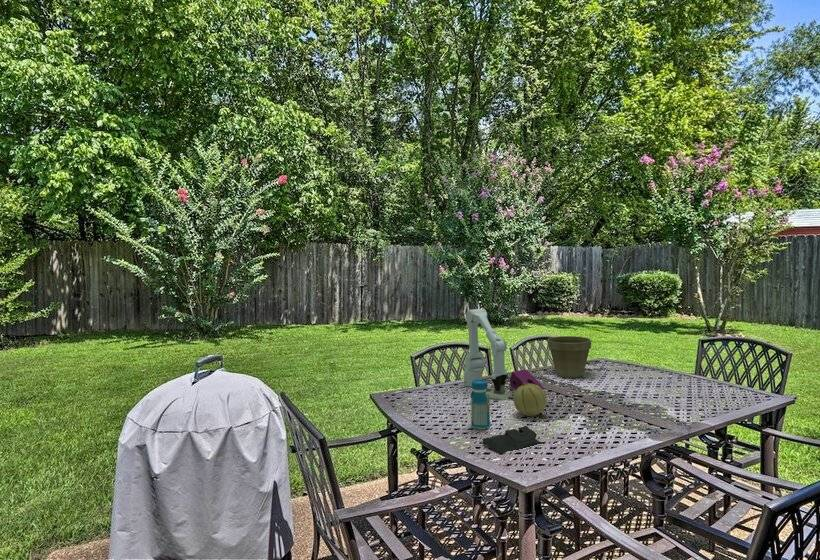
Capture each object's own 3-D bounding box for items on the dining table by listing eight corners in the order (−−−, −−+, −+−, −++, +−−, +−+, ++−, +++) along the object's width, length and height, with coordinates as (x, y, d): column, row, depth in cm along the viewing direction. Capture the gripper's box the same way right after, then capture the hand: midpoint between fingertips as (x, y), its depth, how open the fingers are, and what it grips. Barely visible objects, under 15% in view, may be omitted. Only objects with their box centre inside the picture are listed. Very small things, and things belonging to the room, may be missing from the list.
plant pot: (545, 370, 307) (544, 335, 306) (586, 369, 304) (586, 335, 302) (551, 380, 282) (550, 343, 281) (596, 380, 279) (595, 342, 278)
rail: (471, 395, 260) (471, 383, 259) (479, 391, 267) (478, 379, 267) (503, 400, 249) (502, 388, 249) (510, 395, 257) (509, 383, 256)
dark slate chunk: (476, 443, 197) (476, 431, 197) (520, 432, 207) (520, 421, 206) (500, 457, 183) (499, 444, 183) (545, 444, 193) (545, 432, 193)
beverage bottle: (477, 431, 208) (476, 384, 207) (467, 425, 216) (466, 380, 215) (494, 427, 212) (493, 382, 210) (483, 421, 219) (482, 377, 218)
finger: (493, 394, 255) (493, 385, 255) (496, 392, 258) (496, 383, 258) (501, 396, 252) (501, 386, 252) (504, 394, 255) (504, 384, 255)
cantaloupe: (550, 420, 218) (549, 387, 217) (516, 421, 219) (515, 387, 218) (542, 409, 233) (542, 378, 232) (511, 410, 234) (510, 379, 233)
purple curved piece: (542, 402, 263) (521, 381, 277) (546, 390, 259) (525, 369, 273) (528, 405, 258) (508, 383, 272) (533, 392, 255) (512, 371, 268)
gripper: (500, 367, 246) (500, 394, 247) (512, 361, 258) (512, 387, 258) (487, 366, 250) (488, 392, 251) (499, 360, 262) (500, 385, 262)
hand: (499, 389), depth 255 cm, fingers open, 4 cm apart
